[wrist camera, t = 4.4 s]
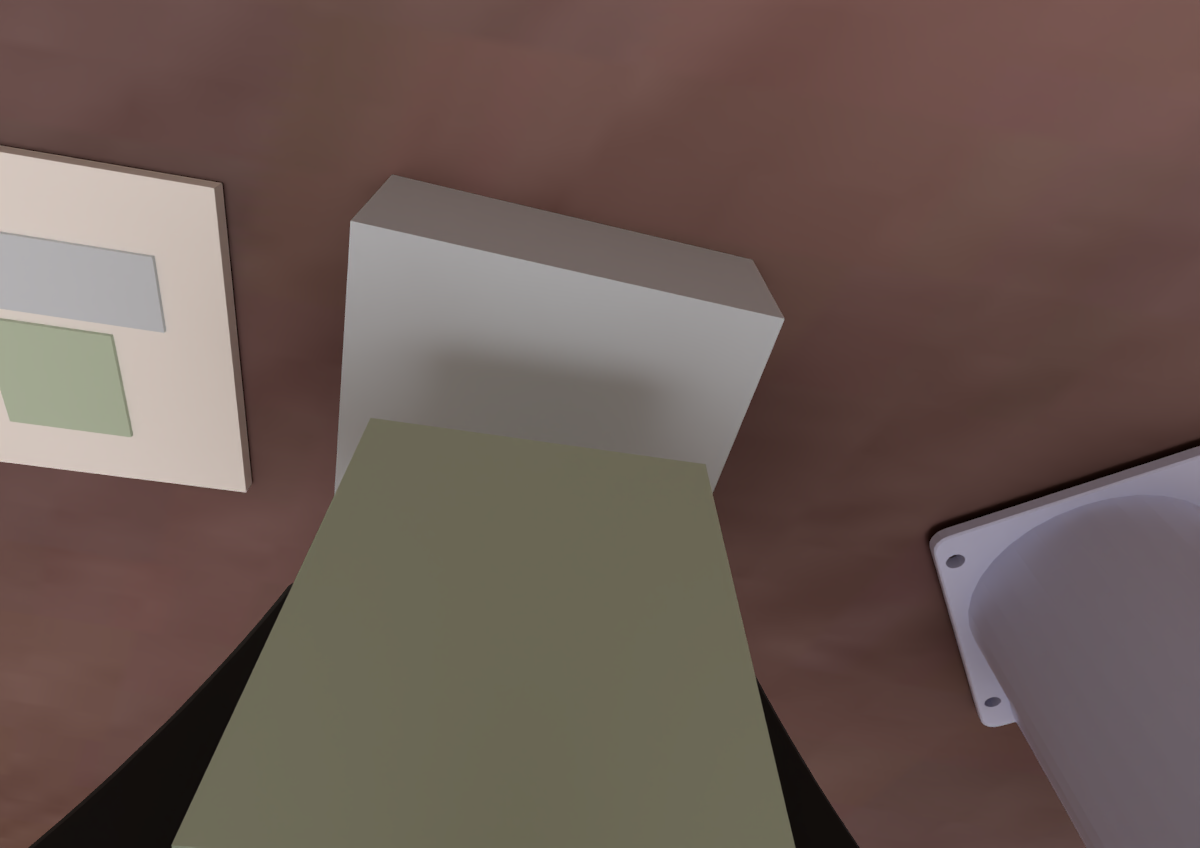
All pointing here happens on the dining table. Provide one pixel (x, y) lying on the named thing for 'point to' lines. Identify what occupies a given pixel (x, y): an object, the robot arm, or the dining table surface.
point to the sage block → (501, 664)
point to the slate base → (546, 329)
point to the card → (118, 324)
